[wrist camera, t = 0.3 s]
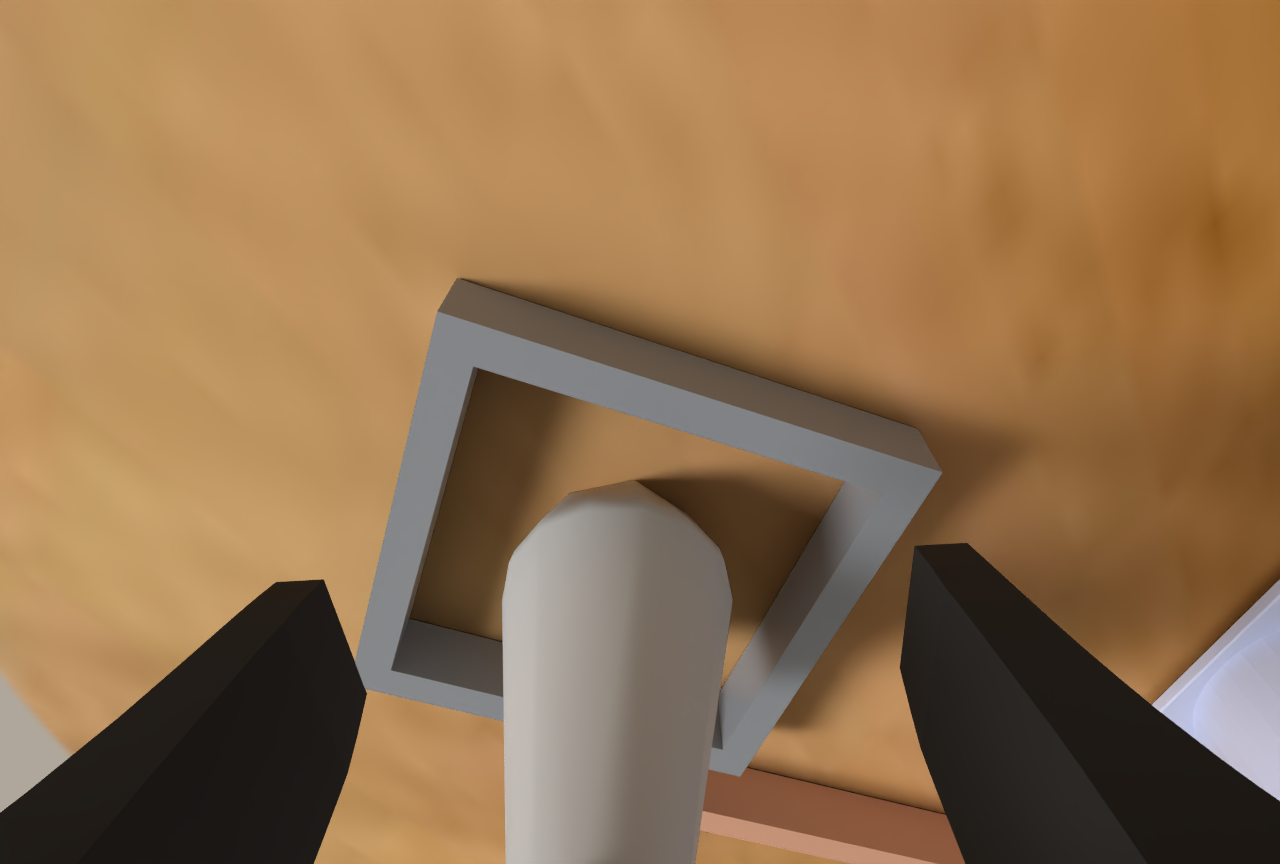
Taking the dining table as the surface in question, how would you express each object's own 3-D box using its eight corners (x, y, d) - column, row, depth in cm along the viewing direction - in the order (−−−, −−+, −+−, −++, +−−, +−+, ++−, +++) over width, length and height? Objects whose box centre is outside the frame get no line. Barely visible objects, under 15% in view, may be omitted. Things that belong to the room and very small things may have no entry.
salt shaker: (599, 413, 20) (540, 986, 9) (766, 524, 22) (891, 1117, 11) (477, 554, 22) (310, 1143, 11) (637, 643, 24) (628, 1229, 13)
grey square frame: (917, 428, 20) (942, 472, 18) (733, 722, 26) (740, 776, 24) (457, 277, 18) (437, 311, 16) (370, 633, 24) (349, 685, 22)
